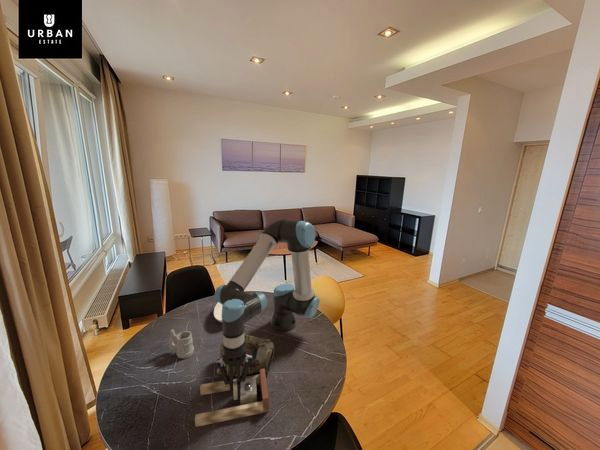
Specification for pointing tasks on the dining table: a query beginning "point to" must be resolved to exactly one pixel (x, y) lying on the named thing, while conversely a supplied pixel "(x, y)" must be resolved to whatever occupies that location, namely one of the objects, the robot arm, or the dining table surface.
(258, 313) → the robot arm
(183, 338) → the mug
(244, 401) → the block
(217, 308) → the bowl
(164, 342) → the dining table surface
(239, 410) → the channel
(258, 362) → the sculptural head
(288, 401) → the dining table surface
